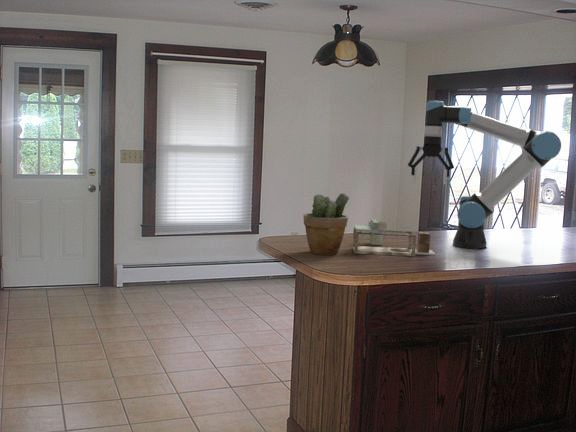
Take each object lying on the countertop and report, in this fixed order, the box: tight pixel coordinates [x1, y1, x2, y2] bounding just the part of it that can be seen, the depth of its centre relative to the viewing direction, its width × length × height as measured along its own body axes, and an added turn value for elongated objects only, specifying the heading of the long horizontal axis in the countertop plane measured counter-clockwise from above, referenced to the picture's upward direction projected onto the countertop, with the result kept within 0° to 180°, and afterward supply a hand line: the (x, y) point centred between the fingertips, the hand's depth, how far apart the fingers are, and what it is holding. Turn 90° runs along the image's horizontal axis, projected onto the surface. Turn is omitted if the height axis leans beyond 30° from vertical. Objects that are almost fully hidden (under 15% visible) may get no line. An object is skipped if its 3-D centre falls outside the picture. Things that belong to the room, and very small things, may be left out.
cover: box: [353, 218, 379, 233], centre depth 292 cm, size 9×12×4 cm
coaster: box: [411, 248, 436, 256], centre depth 297 cm, size 9×9×1 cm
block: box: [416, 231, 431, 253], centre depth 296 cm, size 4×4×8 cm
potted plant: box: [302, 192, 350, 256], centre depth 284 cm, size 18×19×25 cm
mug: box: [359, 220, 388, 246], centre depth 314 cm, size 8×13×10 cm, turn 78°
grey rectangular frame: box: [351, 227, 417, 257], centre depth 293 cm, size 25×12×9 cm, turn 89°
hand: (429, 183), depth 310 cm, fingers open, 13 cm apart
